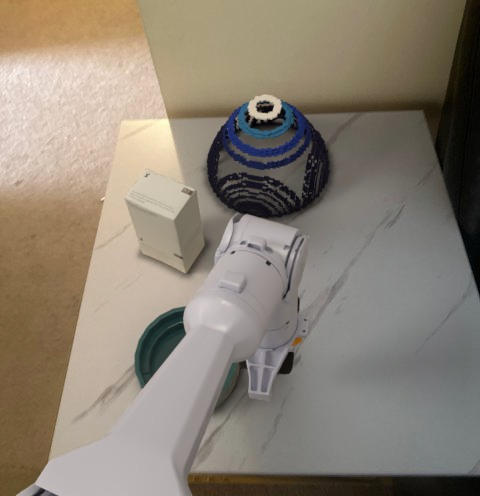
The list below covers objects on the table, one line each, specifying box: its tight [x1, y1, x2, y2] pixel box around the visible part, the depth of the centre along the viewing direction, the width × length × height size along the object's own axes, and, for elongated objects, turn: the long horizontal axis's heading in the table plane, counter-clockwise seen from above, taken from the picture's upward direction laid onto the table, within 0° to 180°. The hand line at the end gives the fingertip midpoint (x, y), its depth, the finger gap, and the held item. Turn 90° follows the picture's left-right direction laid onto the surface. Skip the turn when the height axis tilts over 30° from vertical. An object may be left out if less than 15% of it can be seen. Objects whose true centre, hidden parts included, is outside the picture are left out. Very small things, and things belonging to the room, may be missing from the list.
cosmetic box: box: [123, 168, 206, 274], centre depth 80 cm, size 8×6×15 cm
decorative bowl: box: [206, 93, 331, 219], centre depth 88 cm, size 20×20×14 cm
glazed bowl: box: [133, 305, 241, 409], centre depth 73 cm, size 13×13×4 cm
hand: (271, 353), depth 64 cm, fingers closed on toy figure, 3 cm apart
